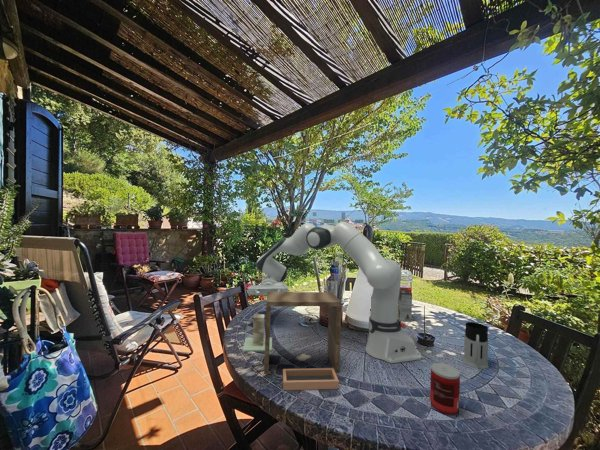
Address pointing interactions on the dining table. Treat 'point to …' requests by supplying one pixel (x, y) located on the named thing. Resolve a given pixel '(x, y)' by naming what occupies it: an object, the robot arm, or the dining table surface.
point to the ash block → (258, 329)
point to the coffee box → (405, 305)
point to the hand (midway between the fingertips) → (267, 293)
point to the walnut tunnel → (308, 300)
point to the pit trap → (310, 379)
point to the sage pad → (249, 346)
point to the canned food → (445, 388)
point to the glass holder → (476, 345)
